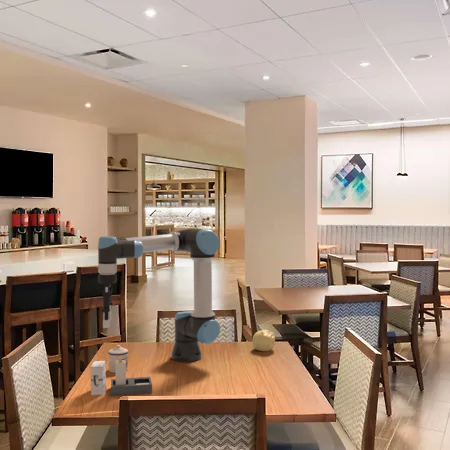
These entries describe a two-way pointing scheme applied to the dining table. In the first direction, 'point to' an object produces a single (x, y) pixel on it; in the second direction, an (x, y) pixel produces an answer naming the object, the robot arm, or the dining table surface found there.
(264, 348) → the pale yellow rounded lump
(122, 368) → the plug
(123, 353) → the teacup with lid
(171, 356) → the robot arm
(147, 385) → the console
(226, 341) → the dining table surface
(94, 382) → the ink box
